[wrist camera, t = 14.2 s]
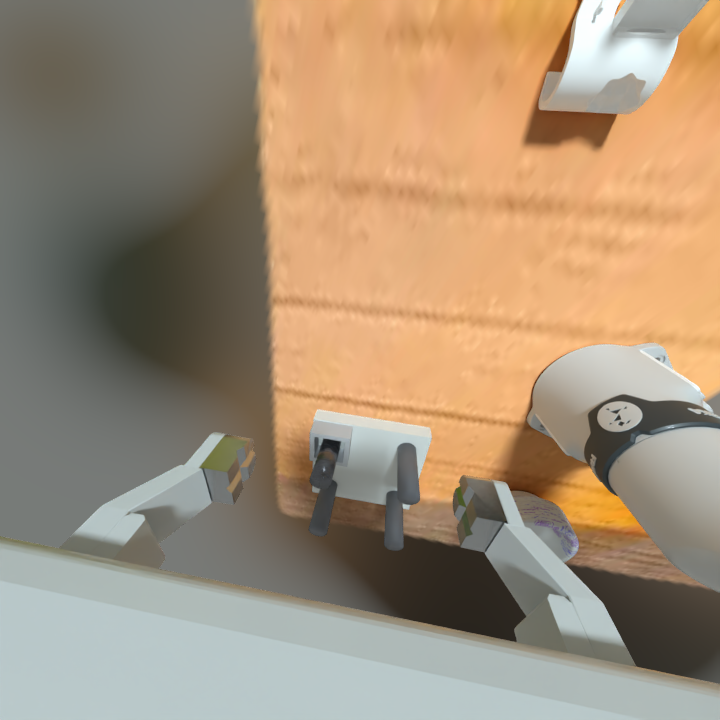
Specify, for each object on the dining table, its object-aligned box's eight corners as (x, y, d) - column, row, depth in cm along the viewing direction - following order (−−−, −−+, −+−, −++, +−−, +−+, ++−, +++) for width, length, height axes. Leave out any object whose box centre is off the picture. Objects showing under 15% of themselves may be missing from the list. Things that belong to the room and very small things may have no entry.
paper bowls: (457, 509, 56) (465, 551, 49) (508, 468, 49) (526, 511, 42) (517, 536, 58) (533, 579, 51) (574, 500, 50) (602, 546, 44)
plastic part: (533, 115, 26) (616, 56, 16) (583, -50, 21) (747, -283, 11) (614, 120, 26) (753, 62, 16) (685, -48, 21) (956, -293, 11)
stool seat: (430, 427, 46) (439, 486, 36) (408, 498, 56) (410, 559, 46) (317, 409, 47) (296, 461, 37) (315, 481, 57) (298, 538, 47)
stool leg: (345, 437, 46) (335, 482, 39) (335, 446, 48) (322, 491, 40) (331, 427, 46) (317, 471, 38) (320, 436, 47) (305, 481, 39)
